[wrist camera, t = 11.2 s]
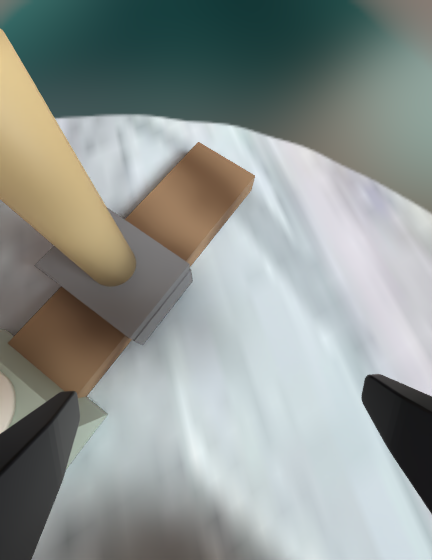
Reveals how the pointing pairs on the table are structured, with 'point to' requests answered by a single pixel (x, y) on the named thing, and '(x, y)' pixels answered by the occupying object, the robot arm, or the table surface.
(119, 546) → the table surface
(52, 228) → the grey block with handle
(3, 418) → the gauge cabinet
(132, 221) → the rail
